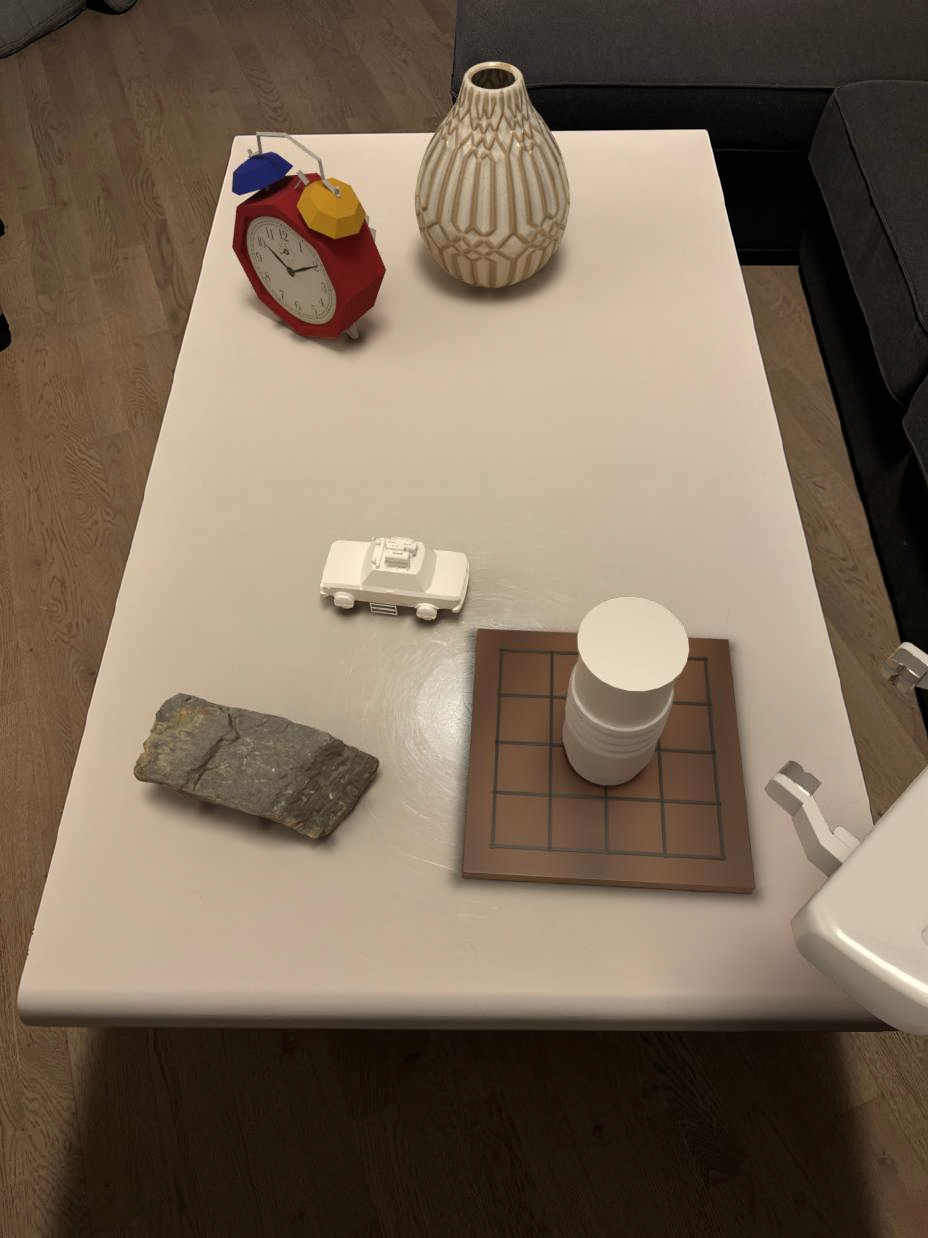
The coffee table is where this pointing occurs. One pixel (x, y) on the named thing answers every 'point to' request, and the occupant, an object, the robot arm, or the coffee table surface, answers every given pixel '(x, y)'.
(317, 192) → the alarm clock
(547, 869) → the grid board
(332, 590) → the toy car
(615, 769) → the white travel cup
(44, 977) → the coffee table surface
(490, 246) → the vase
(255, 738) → the rock
